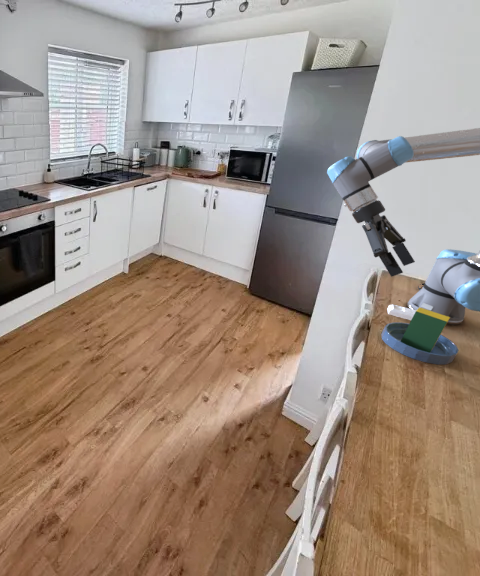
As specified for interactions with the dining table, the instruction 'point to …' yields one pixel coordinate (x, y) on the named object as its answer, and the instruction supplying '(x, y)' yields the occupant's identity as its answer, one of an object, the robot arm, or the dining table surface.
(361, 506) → the dining table surface
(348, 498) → the dining table surface
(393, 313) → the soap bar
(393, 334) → the bowl
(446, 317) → the sponge
